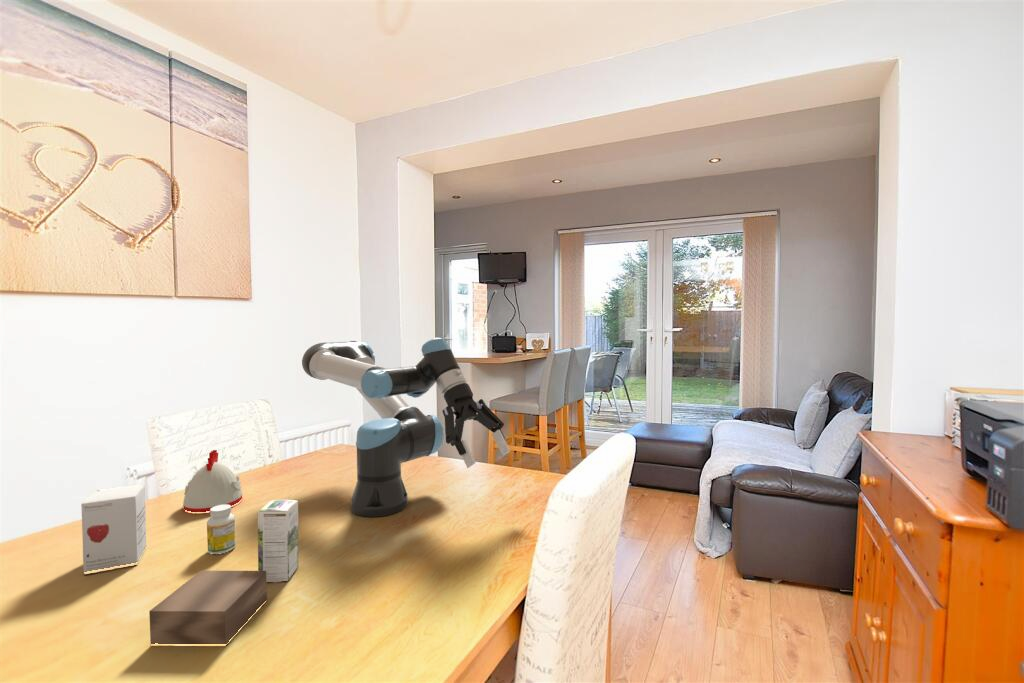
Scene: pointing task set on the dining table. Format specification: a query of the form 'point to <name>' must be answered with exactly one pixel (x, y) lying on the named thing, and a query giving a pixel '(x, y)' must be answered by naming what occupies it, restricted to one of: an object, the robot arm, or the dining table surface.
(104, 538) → the supplement box
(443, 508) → the dining table surface
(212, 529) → the supplement bottle
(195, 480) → the kitchen timer
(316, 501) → the dining table surface
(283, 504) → the syrup box
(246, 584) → the walnut block
